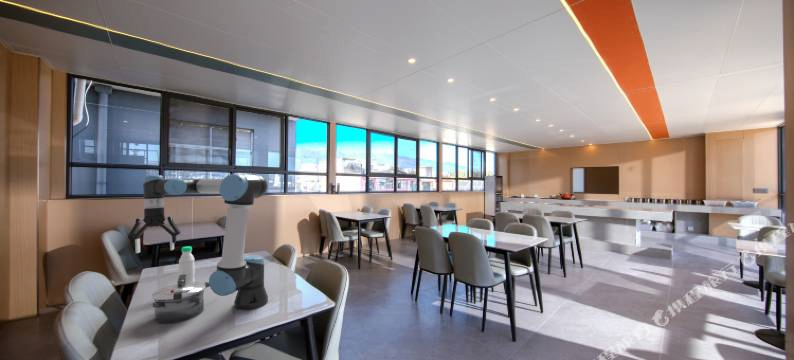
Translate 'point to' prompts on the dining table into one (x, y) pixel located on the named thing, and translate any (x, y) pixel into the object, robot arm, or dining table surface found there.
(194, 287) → the lid
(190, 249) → the water bottle
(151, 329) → the dining table surface
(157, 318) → the pot
